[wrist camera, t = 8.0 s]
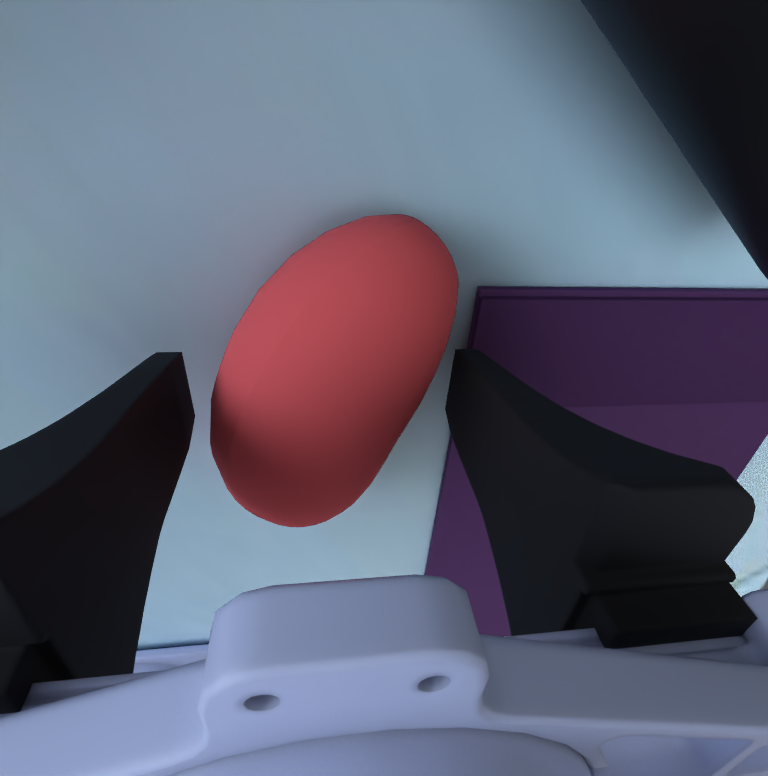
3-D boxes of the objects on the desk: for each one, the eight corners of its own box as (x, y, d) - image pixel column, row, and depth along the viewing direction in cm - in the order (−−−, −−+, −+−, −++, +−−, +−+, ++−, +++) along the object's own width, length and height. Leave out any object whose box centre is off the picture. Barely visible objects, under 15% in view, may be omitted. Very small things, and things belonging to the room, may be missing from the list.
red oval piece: (163, 353, 15) (164, 556, 13) (294, 126, 9) (346, 426, 7) (305, 374, 18) (329, 540, 16) (472, 216, 12) (555, 442, 10)
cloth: (636, 619, 27) (641, 628, 27) (412, 640, 25) (414, 650, 25) (858, 289, 16) (872, 295, 15) (477, 285, 14) (483, 292, 13)
